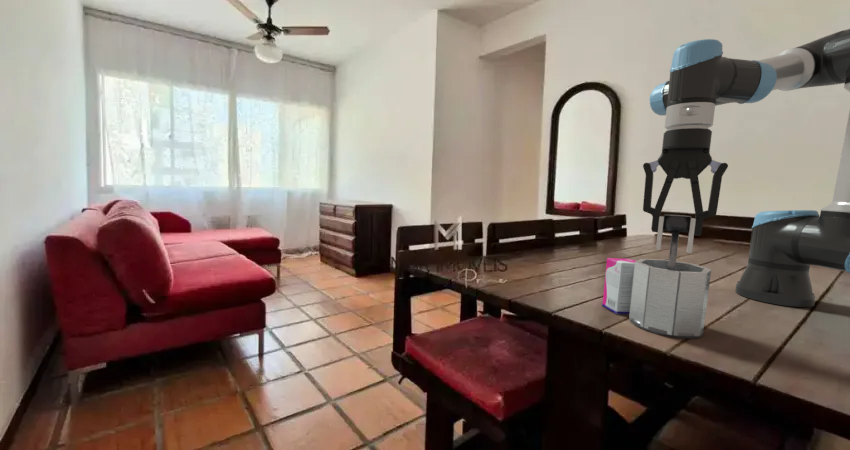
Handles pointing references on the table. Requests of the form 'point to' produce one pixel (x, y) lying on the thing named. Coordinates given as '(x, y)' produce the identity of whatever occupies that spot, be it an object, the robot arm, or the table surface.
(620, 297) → the supplement box
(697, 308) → the press body
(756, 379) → the table surface
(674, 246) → the plunger
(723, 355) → the table surface
